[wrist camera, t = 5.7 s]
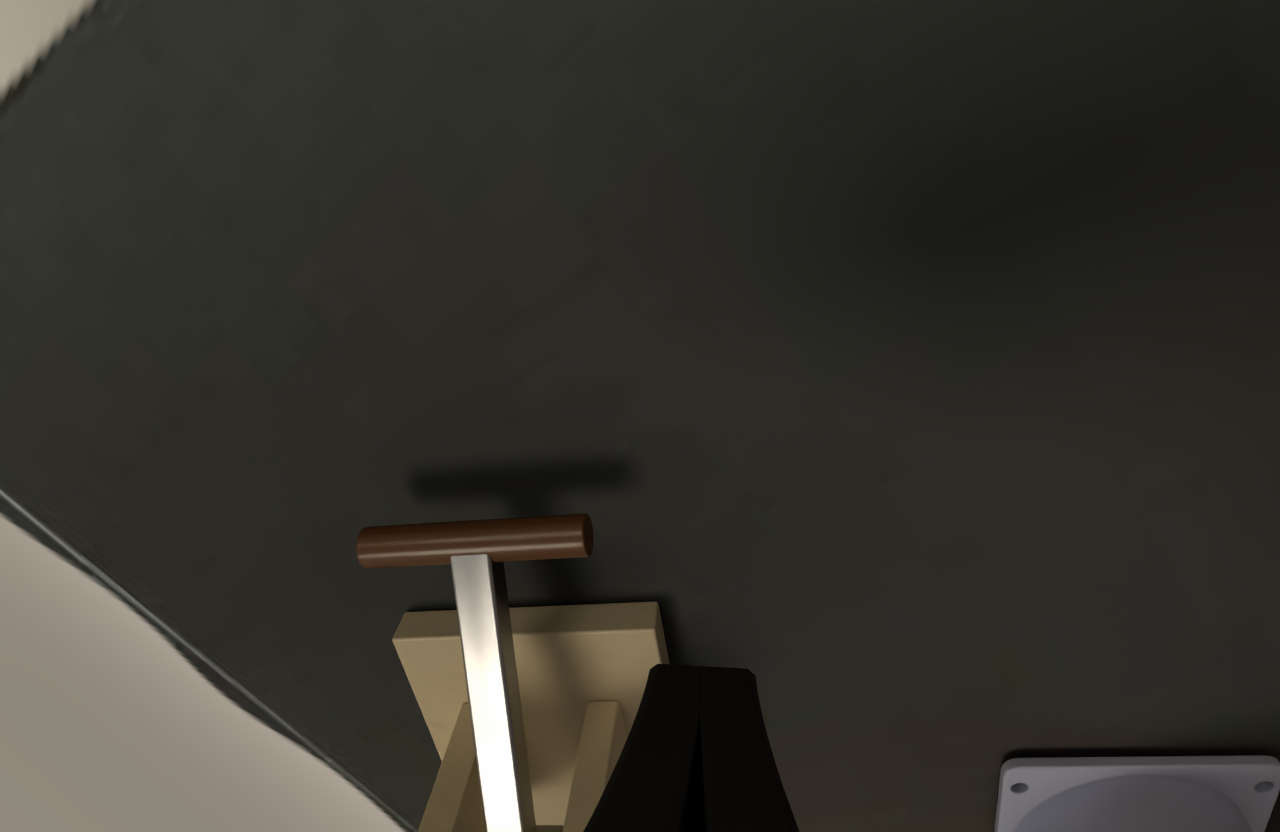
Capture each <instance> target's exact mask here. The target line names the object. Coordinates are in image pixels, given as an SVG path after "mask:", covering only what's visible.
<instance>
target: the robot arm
mask: <svg viewBox="0 0 1280 832" xmlns="http://www.w3.org/2000/svg"><path fill="white" fill-rule="evenodd" d="M1279 791H1280V761H1279V760H1278V759H1277V758H1275V757H1273V756H1268V755H1227V756H1133V757H1038V758H1012V759H1010V760H1007V761H1006V762H1005V763H1004V764H1003V765H1002V767H1001V772H1000V782H999V791H998V801H997V810H996V820H995V830H994V832H1265V829H1266V826H1267V824H1268V821H1269V818H1270V815H1271V813H1272V810H1273V807H1274V805H1275V802H1276V799H1277V796H1278V794H1279ZM583 832H799V829H798V827H797V824H796V821H795V818H794V816H793V813H792V810H791V807H790V805H789V802H788V799H787V796H786V794H785V791H784V788H783V785H782V782H781V779H780V776H779V773H778V770H777V767H776V764H775V761H774V757H773V754H772V750H771V747H770V743H769V740H768V737H767V733H766V729H765V725H764V721H763V717H762V712H761V708H760V703H759V697H758V692H757V685H756V676H755V675H754V674H753V673H752V672H751V671H750V670H748V669H741V668H723V667H706V666H689V665H672V664H657V665H655V666H654V667H652V668H651V669H650V670H649V675H648V679H647V683H646V687H645V690H644V693H643V697H642V700H641V703H640V706H639V709H638V712H637V714H636V717H635V720H634V723H633V725H632V728H631V730H630V733H629V735H628V738H627V740H626V743H625V745H624V747H623V750H622V752H621V755H620V757H619V759H618V761H617V763H616V766H615V768H614V770H613V772H612V774H611V776H610V779H609V781H608V783H607V785H606V787H605V789H604V792H603V794H602V796H601V798H600V800H599V802H598V804H597V806H596V808H595V810H594V812H593V814H592V816H591V818H590V820H589V822H588V824H587V826H586V827H585V829H584V831H583Z"/></svg>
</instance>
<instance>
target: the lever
mask: <svg viewBox="0 0 1280 832" xmlns="http://www.w3.org/2000/svg"><path fill="white" fill-rule="evenodd" d="M592 549H593V527H592V522H591V519H590V517H589V515H588V514H571V515H554V516H538V517H521V518H505V519H488V520H472V521H455V522H438V523H422V524H405V525H389V526H372V527H365V528H363V529H362V530H361V531H360V533H359V535H358V538H357V544H356V552H357V558H358V561H359V563H360V564H361V566H362V567H364V568H388V567H407V566H426V565H445V564H451V571H452V578H453V586H454V593H455V601H456V609H457V616H458V624H459V632H460V639H461V647H462V654H463V662H464V670H465V677H466V685H467V693H468V700H469V708H470V715H471V723H472V731H473V738H474V746H475V754H476V761H477V769H478V776H479V784H480V792H481V799H482V807H483V814H484V822H485V830H486V832H563V825H536V822H535V814H534V806H533V798H532V790H531V782H530V774H529V766H528V757H527V749H526V741H525V733H524V725H523V717H522V709H521V700H520V692H519V684H518V676H517V668H516V660H515V652H514V644H513V635H512V627H511V619H510V611H509V603H508V595H507V587H506V579H505V570H504V562H503V561H523V560H542V559H561V558H581V557H589V556H590V555H591V553H592Z"/></svg>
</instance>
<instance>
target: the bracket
mask: <svg viewBox="0 0 1280 832" xmlns="http://www.w3.org/2000/svg"><path fill="white" fill-rule="evenodd" d="M509 611H510V619H511V627H512V635H513V644H514V652H515V660H516V668H517V676H518V684H519V692H520V700H521V709H522V717H523V725H524V733H525V741H526V749H527V757H528V766H529V774H530V782H531V790H532V798H533V806H534V814H535V822H536V825H563V832H583V831H584V829H585V827H586V826H587V824H588V822H589V820H590V818H591V816H592V814H593V812H594V810H595V808H596V806H597V804H598V802H599V800H600V798H601V796H602V794H603V792H604V789H605V787H606V785H607V783H608V781H609V779H610V776H611V774H612V772H613V770H614V768H615V766H616V763H617V761H618V759H619V757H620V755H621V752H622V750H623V747H624V745H625V743H626V740H627V738H628V735H629V733H630V730H631V728H632V725H633V723H634V720H635V717H636V714H637V712H638V709H639V706H640V703H641V700H642V697H643V693H644V690H645V687H646V683H647V679H648V675H649V670H650V669H651V668H652V667H654V666H655V665H657V664H670V663H669V658H668V652H667V647H666V642H665V636H664V631H663V626H662V620H661V615H660V609H659V604H658V602H632V603H608V604H585V605H561V606H537V607H514V608H509ZM393 643H394V646H395V648H396V651H397V653H398V655H399V658H400V660H401V663H402V665H403V668H404V670H405V672H406V675H407V677H408V680H409V682H410V685H411V687H412V689H413V692H414V694H415V697H416V699H417V702H418V704H419V706H420V709H421V711H422V714H423V716H424V719H425V721H426V723H427V726H428V728H429V731H430V733H431V736H432V738H433V740H434V743H435V745H436V748H437V750H438V753H439V755H440V758H441V760H442V764H441V767H440V769H439V772H438V775H437V778H436V781H435V784H434V787H433V789H432V792H431V795H430V798H429V801H428V804H427V806H426V809H425V812H424V815H423V818H422V821H421V824H420V826H419V829H418V832H486V830H485V822H484V814H483V807H482V799H481V792H480V784H479V776H478V769H477V761H476V754H475V746H474V738H473V731H472V723H471V715H470V708H469V700H468V693H467V685H466V677H465V670H464V662H463V654H462V647H461V639H460V632H459V624H458V616H457V610H443V611H419V612H406V613H404V615H403V618H402V620H401V622H400V624H399V626H398V628H397V630H396V632H395V634H394V636H393Z"/></svg>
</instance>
